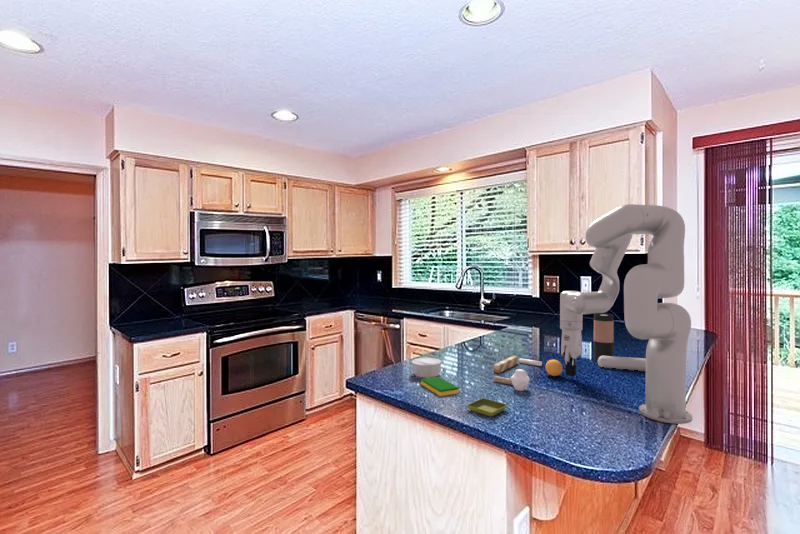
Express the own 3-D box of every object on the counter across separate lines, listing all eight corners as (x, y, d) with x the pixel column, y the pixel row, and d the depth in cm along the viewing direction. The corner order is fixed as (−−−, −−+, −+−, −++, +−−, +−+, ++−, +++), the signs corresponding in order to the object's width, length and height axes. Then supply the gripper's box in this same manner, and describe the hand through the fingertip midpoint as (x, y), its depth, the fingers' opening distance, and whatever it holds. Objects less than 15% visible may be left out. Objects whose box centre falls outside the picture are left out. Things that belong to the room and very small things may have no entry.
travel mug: (589, 360, 177) (589, 313, 176) (601, 358, 180) (602, 312, 180) (604, 364, 170) (605, 316, 170) (617, 362, 173) (617, 314, 173)
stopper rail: (498, 373, 158) (498, 365, 158) (493, 372, 159) (493, 364, 159) (517, 363, 172) (517, 356, 172) (513, 362, 173) (513, 355, 173)
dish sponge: (440, 397, 133) (440, 390, 132) (420, 385, 145) (420, 378, 145) (459, 394, 135) (459, 387, 135) (438, 382, 148) (438, 376, 148)
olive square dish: (466, 411, 120) (466, 404, 120) (483, 404, 126) (483, 397, 126) (491, 420, 114) (491, 412, 114) (508, 411, 120) (508, 404, 120)
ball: (541, 359, 155) (543, 376, 153) (557, 359, 151) (559, 376, 150) (548, 359, 159) (550, 375, 158) (564, 359, 155) (565, 375, 154)
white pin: (539, 365, 167) (518, 361, 172) (541, 367, 168) (520, 363, 174) (541, 360, 168) (519, 357, 173) (542, 362, 169) (521, 359, 174)
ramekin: (409, 378, 153) (409, 363, 153) (415, 369, 164) (415, 356, 164) (439, 380, 150) (439, 365, 150) (443, 371, 161) (443, 358, 161)
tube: (597, 359, 164) (671, 364, 154) (597, 352, 169) (668, 357, 159) (597, 370, 166) (670, 376, 156) (597, 363, 170) (668, 369, 161)
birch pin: (517, 384, 141) (493, 379, 147) (519, 387, 142) (495, 382, 148) (518, 379, 142) (494, 374, 148) (520, 382, 143) (496, 377, 149)
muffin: (521, 385, 143) (521, 365, 143) (533, 390, 137) (533, 370, 137) (506, 387, 141) (507, 367, 140) (518, 393, 135) (518, 372, 135)
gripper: (575, 329, 141) (575, 382, 142) (587, 323, 153) (587, 372, 153) (553, 326, 146) (553, 378, 146) (566, 321, 157) (566, 369, 158)
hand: (570, 375), depth 150 cm, fingers closed
